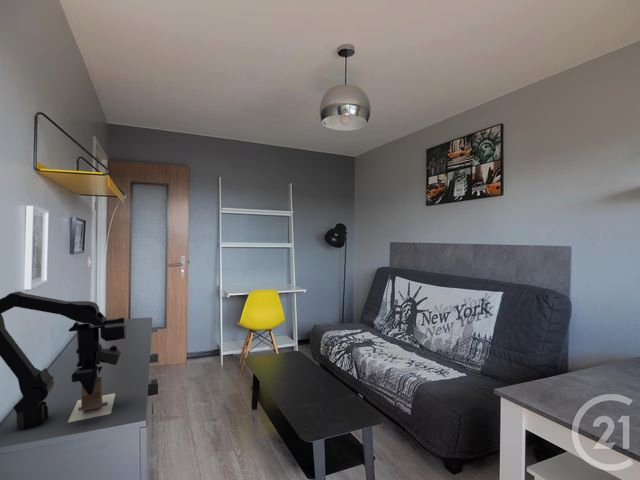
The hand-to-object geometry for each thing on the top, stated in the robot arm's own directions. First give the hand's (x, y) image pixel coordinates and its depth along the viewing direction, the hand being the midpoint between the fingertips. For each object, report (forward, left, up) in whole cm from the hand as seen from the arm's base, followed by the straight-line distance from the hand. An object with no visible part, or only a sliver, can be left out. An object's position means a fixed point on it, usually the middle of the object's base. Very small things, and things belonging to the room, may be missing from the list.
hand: (90, 394), depth 113 cm
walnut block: (+1, +1, -5) cm, 5 cm away
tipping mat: (+3, +3, -7) cm, 8 cm away
